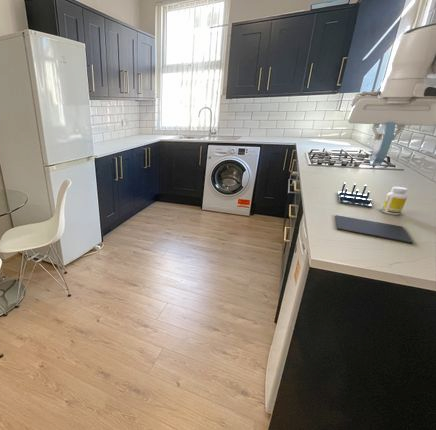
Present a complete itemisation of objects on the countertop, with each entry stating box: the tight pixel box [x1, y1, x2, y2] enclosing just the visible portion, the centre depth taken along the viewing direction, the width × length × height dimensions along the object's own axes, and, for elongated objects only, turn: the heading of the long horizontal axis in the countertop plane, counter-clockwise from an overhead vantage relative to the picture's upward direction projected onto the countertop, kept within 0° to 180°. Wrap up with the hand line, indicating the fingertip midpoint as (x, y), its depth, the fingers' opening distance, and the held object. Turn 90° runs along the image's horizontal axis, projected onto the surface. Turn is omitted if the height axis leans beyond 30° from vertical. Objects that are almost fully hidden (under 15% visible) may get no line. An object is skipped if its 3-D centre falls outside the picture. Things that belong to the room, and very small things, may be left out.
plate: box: [369, 123, 396, 166], centre depth 86 cm, size 2×13×13 cm, turn 145°
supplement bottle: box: [381, 186, 409, 216], centre depth 105 cm, size 5×5×10 cm
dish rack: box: [337, 182, 372, 209], centre depth 119 cm, size 10×16×6 cm, turn 145°
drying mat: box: [335, 214, 413, 245], centre depth 93 cm, size 18×14×1 cm
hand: (383, 140), depth 86 cm, fingers closed on plate, 2 cm apart
